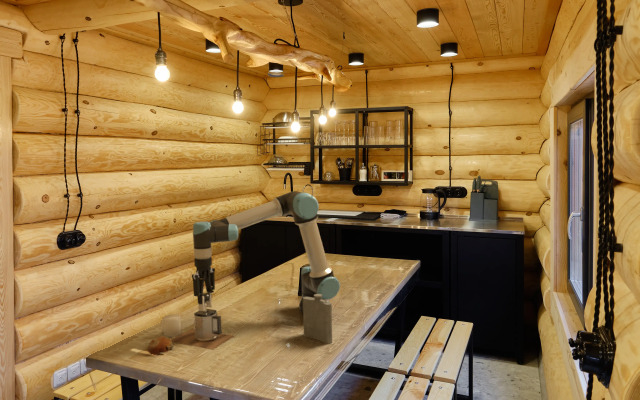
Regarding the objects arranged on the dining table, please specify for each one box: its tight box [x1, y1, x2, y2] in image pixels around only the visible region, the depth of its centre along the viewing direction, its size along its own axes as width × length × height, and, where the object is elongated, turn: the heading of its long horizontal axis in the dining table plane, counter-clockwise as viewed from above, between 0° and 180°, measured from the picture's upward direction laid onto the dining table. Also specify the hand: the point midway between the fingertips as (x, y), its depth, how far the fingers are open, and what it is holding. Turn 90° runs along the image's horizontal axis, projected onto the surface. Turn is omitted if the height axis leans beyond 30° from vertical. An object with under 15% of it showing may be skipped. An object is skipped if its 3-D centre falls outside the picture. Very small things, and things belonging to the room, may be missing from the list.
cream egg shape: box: [160, 314, 182, 338], centre depth 224 cm, size 9×8×9 cm
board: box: [170, 327, 235, 351], centre depth 219 cm, size 24×16×1 cm, turn 65°
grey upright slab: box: [302, 294, 333, 345], centre depth 218 cm, size 16×4×20 cm, turn 49°
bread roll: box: [147, 335, 175, 356], centre depth 209 cm, size 10×10×8 cm
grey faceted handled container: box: [193, 308, 223, 341], centre depth 219 cm, size 13×10×12 cm
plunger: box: [203, 292, 210, 313], centre depth 219 cm, size 7×7×18 cm
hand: (205, 308), depth 219 cm, fingers closed on plunger, 4 cm apart
